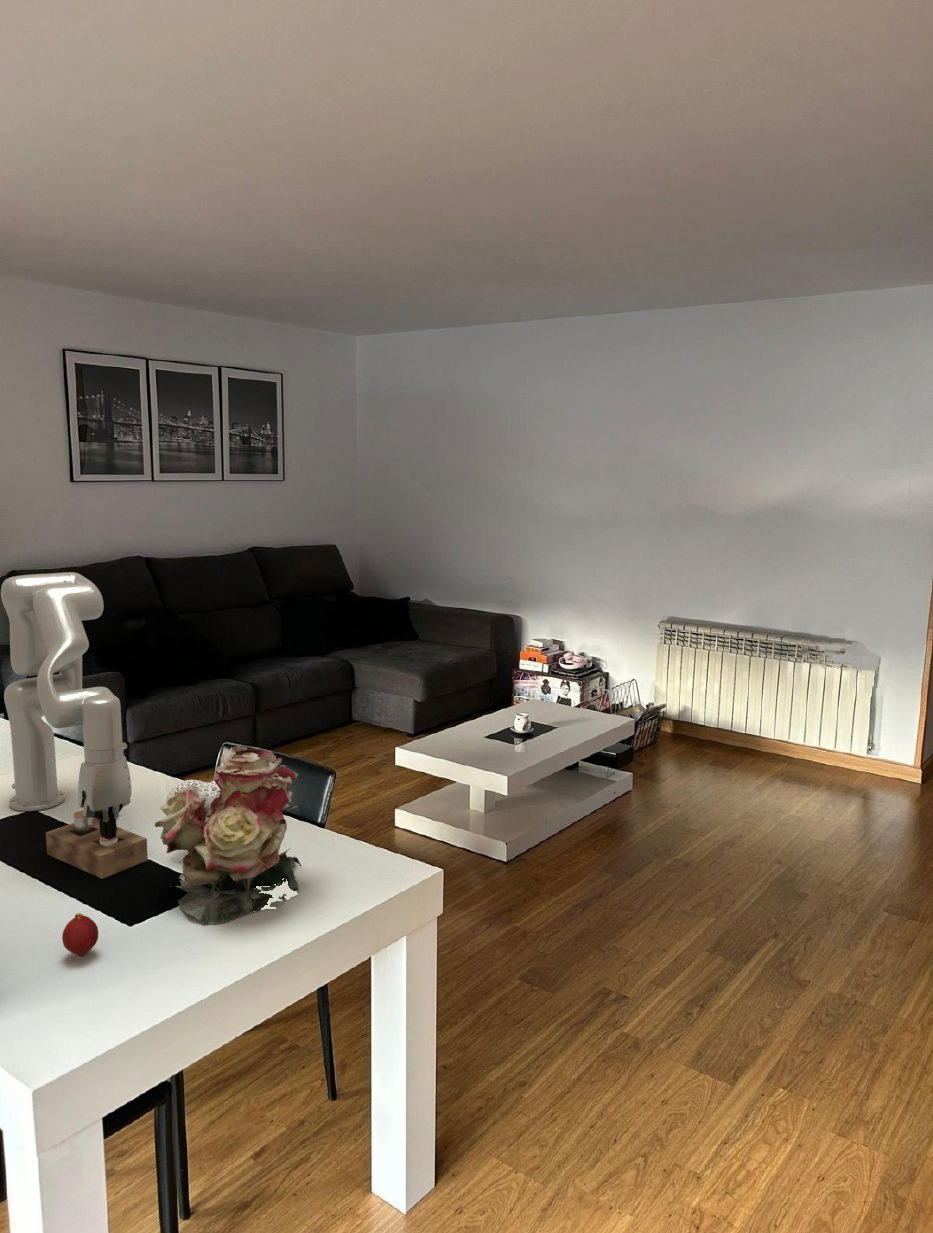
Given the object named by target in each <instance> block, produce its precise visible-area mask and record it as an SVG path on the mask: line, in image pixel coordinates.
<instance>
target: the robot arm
mask: <svg viewBox="0 0 933 1233" xmlns="http://www.w3.org/2000/svg"><path fill="white" fill-rule="evenodd" d="M0 597H1V602H2V605H3V608H4V609H5V612H6V615H7V617H8V620H9V648H10V650H9V652H10V665H11V668H12V671H13V672H14V673H15V674H17V675H18V676H21V677H23V676H24V677H28V676H31V678H23V679H18V680H16V681H14V682H12V683H10V684H9V685H7V686H6V688H5V690H4V694H3V699H4V705H5V708H6V712H7V717H8V721H9V728H10V737H11V747H12V766H13V775H14V776H13V777H14V783H12V785H11V788H12V789H14V790H15V791H14V793H15V795H14V796H13V797H11V798H10V799H9V801H8V805H9V808H10V809H12V810H14V811H15V810H16V811H19V812H35V811H42V810H46V809H50V808H54V807H56V806H58V805H60V804H61V803H63V802H64V801H65V799H66V794H65V793H64V792H63V791H62V790H59V788H58V775H57V774H58V773H57V763H56V762H57V759H56V745H55V744H56V742H55V734H54V730H53V729H65V728H70V727H71V728H72V727H75V726H81V725H82V737H83V753H84V762H81V764H80V768H79V772H78V773H79V774H78V786H77V787H78V788H77V790H78V792H77V794H78V795H77V796H78V797H77V798H78V799H77V800H78V806H79V807H80V808H82V811H83V814H82V815H83V816H84V817H86V818H91V817H95V818H96V819H98V820H99V825H100V834H101V836H102V837H104V838H106V839H109V840H110V839H112V838H115V837H116V831H117V827H118V825H117V820H116V819H119V817H120V813H121V811H122V809H123V808H125V807H126V806H128V805H129V804H131V797H132V779H131V774H130V768H129V764H128V760H127V757H126V756H125V755H124V750H126V749H127V748H128V744H127V743H126V742H123V732H122V731H123V730H122V729H123V728H122V712H121V709H122V708H121V701H120V698H118V697H117V695H114V693H113V692H112V691H111V689H109V688H107V687H105V686H95V687H88V688H83V655H84V654H85V653H86V652H87V651H88V649H89V647H90V643H89V638H88V636H87V634H86V630H85V627H84V624H83V622H82V621H90V620H96V619H99V617H101V616H102V614H103V612H104V599H103V595H102V593H101V591H100V590H99V588H98V587H97V585H95V583H93V582H92V581H91V580H89V579H88V578H86V577H85V576H84V575H82V574H80V573H78V572H71V571H69V572H55V573H54V572H53V573H52V572H51V573H37V574H35V573H33V574H23V575H16V576H11V577H8V578H6V579H5V580H3V583H2V584H1V588H0ZM55 673H59V674H55ZM33 676H34V677H33ZM35 676H36V677H35ZM43 717H44V718H45V720H46V722H45V721H44V720H43Z"/></svg>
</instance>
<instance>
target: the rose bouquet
mask: <svg viewBox="0 0 933 1233" xmlns="http://www.w3.org/2000/svg"><path fill="white" fill-rule="evenodd" d="M219 760H220V762H221V763H222V764H223V765H221V766H216V767H215V771H216V773H215V774H214V776H213V781H215V782H216V784H217V785H218V787H219V788H220V790H221V791H220V792H221V793H220V792H219V793H220V795H219V796H217V798H212V797H207V796H204V795H202V794H200V793H199V792H200V791H198V788H197V787H196V785H197V784H196V785H195V784H192V785H191V786H189V787H186V788H182V789H178V790H177V793H175V794H174V795H175V796H173V797H172V798H170V799H169V800H168V802H167V804H166V803H165V804H163V805H161V806H160V808H159V809H160V810H161V811H162V812H163V814H165V816H166V817H164V818H162V819H160V820H158V821H157V822H154V827H155V828H159V827H160V828H161V827H162V832H161V834H160V840H161V841H162V845H164V846H165V845H166V846H167V848H166V852H165V853H166V854H170V853H172V852H175V851H181V850H183V851H187V854H186V855H185V856H184V858H183V859H182V860H180V861H179V862H178V864H181V862H182V864H183V865H182V873H181V874H180V875H179V877H178V879H179V881H180V884H179V885H175V887H176V888H178V889H181V890H183V891H185V892H186V894H184V896H183V897H181V898H180V899H179V900H178V901H177V902H178V905H179V908H180V910H181V911H184V912H185V913H186V914H187V915H190V916H191V917H194V918H195V919H197V921H198V922H199V923H201V925H203V926H210V925H211V926H212V925H218V924H219V925H220V924H225V923H229V922H232V921H233V920H236V919H238V918H241V917H245V916H246V915H249V914H251V913H254V912H253V911H257V912H261V911H260V910H261V908H263V907H264V906H265V905H268V904H267V902H268V900H269V898H273V897H272V895H270V894H266V893H265V894H264V893H259V892H261V890H260V891H257V888H256V886H259V887H260V886H272V885H274V884H276V886H280V885H282V883H283V880H282V879H283V878H286V879H287V881H288V886H289V888H290V889H291V890H293V891H298V892H299V884H298V881H297V880H296V876H295V872H294V868H293V866H294V865H293V864H295V863H296V864H297V865H299V866H300V867H302V864H301V862H300V860H299V858H298V857H297V856H288V855H287V853H288V851H289V850H290V849H291V848H290V847H289V848H288V849H286V850H285V851H283V852H282V853H280V850H281V846H282V843H283V840H284V839H285V835H286V834H285V833H286V832H287V830H288V824H287V820H286V819H284V818H285V817H284V814H283V813H285V811H286V810H292V809H296V808H298V807H299V806H300V805H301V804H300V803H299V804H292V805H290V804H288V803H291V802H292V798H291V797H292V794H293V791H291V789H290V788H288V787H289V786H290V785H292V784H293V782H296V781H299V780H300V779H299V778H298V776H299V775H298V773H297V772H295V771H294V770H293V769H290V768H289V767H287V765H285V764H282V761H283V758H282V757H278V758H277V757H276V755H275V754H274V753H273V752H272V751H271V750H267V749H262V748H260V749H259V748H258V749H256V748H248V747H245V746H243V747H242V745H238V746H233V747H232V746H231V747H230V749H229V750H228V751H227V752H226V753H224V754H222V755H221V756H220V759H219ZM169 887H170V888H171V886H169ZM272 887H273V886H272ZM215 888H219V891H217V890H216V889H215ZM255 888H256V889H255ZM220 891H222V892H220ZM230 891H237V892H236V893H225V892H230ZM250 912H251V913H250Z"/></svg>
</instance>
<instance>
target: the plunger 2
mask: <svg viewBox="0 0 933 1233" xmlns="http://www.w3.org/2000/svg"><path fill="white" fill-rule="evenodd" d="M117 842H118V839H117V835H116V837H115V838H112V839H110V840H109V839H106V838H104V837H102V836H100V838H99V843H100V845H102V846H104V847H106V846H109V845H112V844H114V843H117Z"/></svg>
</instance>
